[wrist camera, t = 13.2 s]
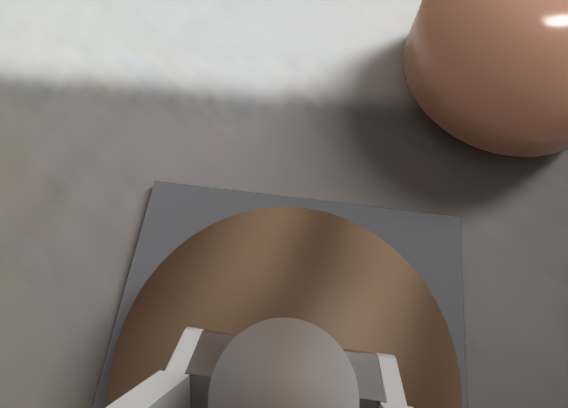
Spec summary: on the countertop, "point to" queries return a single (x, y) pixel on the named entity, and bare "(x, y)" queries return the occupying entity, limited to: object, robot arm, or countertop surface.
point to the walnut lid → (290, 314)
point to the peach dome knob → (493, 72)
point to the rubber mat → (224, 203)
